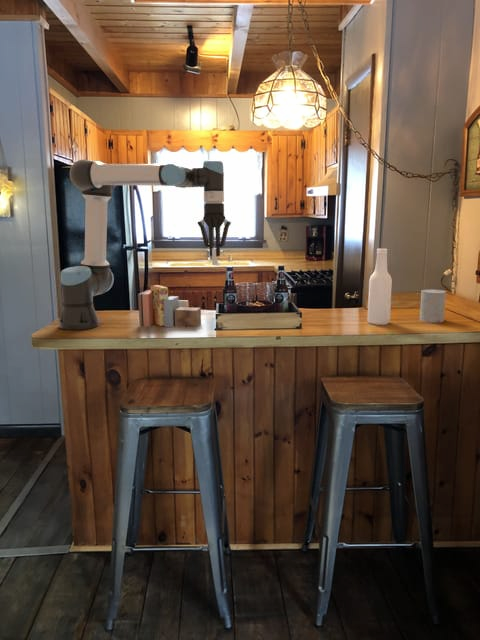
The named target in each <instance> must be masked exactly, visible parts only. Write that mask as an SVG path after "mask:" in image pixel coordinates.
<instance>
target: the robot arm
mask: <svg viewBox="0 0 480 640" xmlns="http://www.w3.org/2000/svg"><path fill="white" fill-rule="evenodd" d="M224 173H225V172H224V164H223V161H221V160H216V159H215V160H214V159H209V160H204V161H203V164H202V166H187V165H182V164H179V163H177V162H170V163H105V162H103V161H98V160H90V159H79V160H77V161H75V162H73V164H72V165H71V167H70V170H69V179H70V181H71V183H72V184H73V185H74V187H76V188H77V189H79V190H81V196H82V197H83V198H84V199H85V213H84V214H85V215H84V217H85V222H84V223H85V224H84V226H85V228H84V258H83V260H81V262H80V265H76V266H75V265H74V266H70V267H66V268H64V269H62V270H61V271H60V280H59V282H60V288H61V291H60V292H61V299H62V300H61V302H62V311H61V314H60V319H59V322H58V323H59V324H58V325H59V328H60V329H62V330H68V331H79V330H88V329H93V328H96V327H99V326H100V322H99V321H100V319H99V317H98V315H97V312H96V310H95V309H96V308H94V307H95V306H94V299H93V298H94V297H95V296H98V295H99V296H100V295H103V294H105V293H106V292H108V291H110V289H111V288H112V287H113V285H114V280H115V277H114V276H115V275H114V274H113V272H112V270H111V268H110V262H109V261H108V260H107V239H108V238H107V235H108V234H107V232H108V229H107V228H108V202H109V201H110V199H112V196H113V190H114V189H115V188H116V186H158V187H160V186H162V187H163V186H164V187H167V186H168V187H169V186H170V187H175V188H181V189H182V188H183V189H185V188H203V200H204V204H203V205H204V207H203V208H204V209H203V210H204V212H203V213H204V215H203V219H201V220H199V221H198V222H197V225H198V226H199V228H200V231H201V236H202V239H203V242H204V246H205V247H206V248H209V257H212V258H211V262H212V264H211V266H217V265H219V264H218V261H219V260H218V257H221V248H222V247H224V246H225V245H226V240H227V236H228V231H229V227H230V226H231V224H232V221H229V220H228V219H226V216H225V204H224V201H225V191H224V187H225V186H224V181H225V180H224V177H225V176H224V175H225V174H224ZM205 225H206V226H207V227H208V234H207V231H206V226H205ZM222 225H224V227H223V231H222V235H221V227H222ZM214 232H215V235H214ZM214 237H215V238H214ZM214 242H215V243H214Z"/></svg>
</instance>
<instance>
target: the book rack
mask: <svg viewBox="0 0 480 640" xmlns="http://www.w3.org/2000/svg"><path fill="white" fill-rule="evenodd" d="M148 291H151V290H150V289H147V290H145V291H142V292H141V293H137V298H138V300H137V301H138V302H137V303H138V320H139V324H138V325H139V327H144V323H143V301H142V294H143V293H146V292H148ZM179 307H189V300H188V299H187V300H185V299H184V300H183V299H181V300H180V299H179Z"/></svg>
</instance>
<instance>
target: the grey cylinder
mask: <svg viewBox="0 0 480 640" xmlns="http://www.w3.org/2000/svg"><path fill="white" fill-rule="evenodd" d="M446 296H447V291H446V290H443V289H433V288H429V289H428V288H426V289H421V293H420V309H419V310H420V311H419V319H418V320H419V321H421V322H426V323H434V324H435V323H436V324H437V323H443V322H444V321H445V307H446Z"/></svg>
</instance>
